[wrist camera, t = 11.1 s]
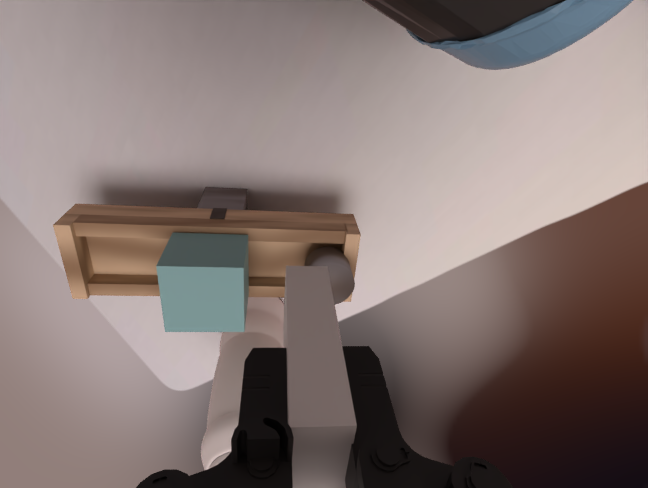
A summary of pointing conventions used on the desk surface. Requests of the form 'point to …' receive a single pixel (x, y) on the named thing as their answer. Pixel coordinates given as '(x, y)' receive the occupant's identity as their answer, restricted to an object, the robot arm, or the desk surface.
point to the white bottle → (238, 374)
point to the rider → (204, 282)
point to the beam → (210, 218)
